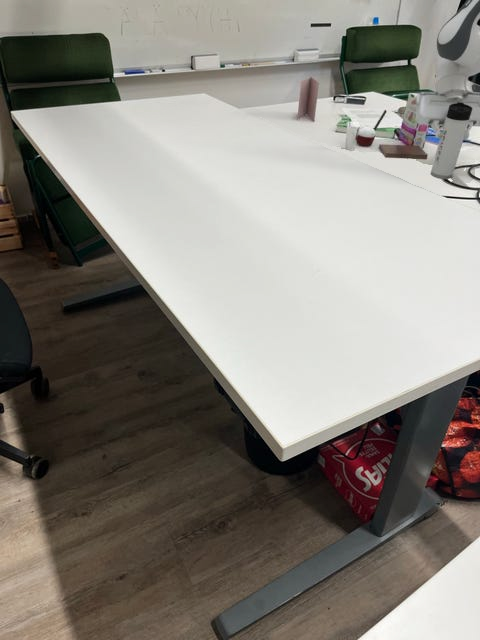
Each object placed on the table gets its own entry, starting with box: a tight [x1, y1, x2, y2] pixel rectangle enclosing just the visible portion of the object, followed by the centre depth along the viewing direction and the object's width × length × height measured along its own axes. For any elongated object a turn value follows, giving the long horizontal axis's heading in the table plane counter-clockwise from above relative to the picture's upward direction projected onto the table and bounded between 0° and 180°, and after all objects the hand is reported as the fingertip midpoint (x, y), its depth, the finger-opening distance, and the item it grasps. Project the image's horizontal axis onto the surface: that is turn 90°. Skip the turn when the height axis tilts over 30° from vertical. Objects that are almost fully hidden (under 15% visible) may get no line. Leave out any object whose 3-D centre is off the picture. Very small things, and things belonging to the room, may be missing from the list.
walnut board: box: [378, 143, 429, 160], centre depth 164 cm, size 14×10×2 cm
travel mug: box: [430, 102, 472, 180], centre depth 139 cm, size 6×7×20 cm
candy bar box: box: [397, 92, 431, 150], centre depth 168 cm, size 11×5×16 cm, turn 10°
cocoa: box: [356, 109, 388, 147], centre depth 167 cm, size 10×6×12 cm, turn 68°
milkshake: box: [344, 120, 362, 152], centre depth 162 cm, size 5×5×10 cm
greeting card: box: [296, 76, 320, 122], centre depth 191 cm, size 11×7×15 cm, turn 154°
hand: (452, 137), depth 137 cm, fingers closed on travel mug, 6 cm apart
